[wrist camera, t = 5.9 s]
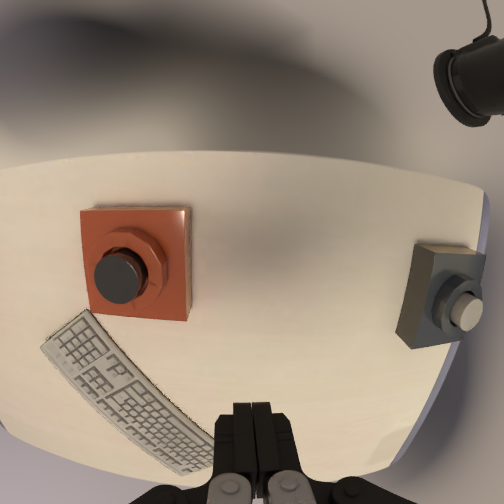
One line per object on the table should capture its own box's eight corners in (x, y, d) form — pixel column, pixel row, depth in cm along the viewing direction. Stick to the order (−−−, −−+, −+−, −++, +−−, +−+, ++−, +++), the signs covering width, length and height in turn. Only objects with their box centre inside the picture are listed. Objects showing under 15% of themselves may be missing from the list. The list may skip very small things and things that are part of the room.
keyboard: (233, 454, 35) (234, 464, 33) (182, 468, 36) (180, 477, 34) (88, 308, 28) (80, 315, 26) (45, 341, 29) (37, 349, 27)
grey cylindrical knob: (454, 292, 23) (466, 300, 22) (475, 291, 24) (486, 298, 22) (445, 324, 24) (456, 333, 22) (466, 321, 25) (476, 329, 23)
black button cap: (101, 248, 22) (90, 254, 20) (145, 249, 22) (137, 256, 20) (106, 293, 23) (96, 302, 21) (148, 296, 23) (141, 306, 21)
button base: (94, 206, 25) (68, 213, 20) (190, 206, 26) (180, 213, 21) (102, 300, 28) (82, 321, 23) (191, 307, 28) (183, 332, 23)
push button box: (414, 243, 28) (447, 258, 22) (466, 246, 28) (497, 259, 23) (395, 332, 31) (419, 359, 25) (446, 326, 31) (472, 347, 25)
